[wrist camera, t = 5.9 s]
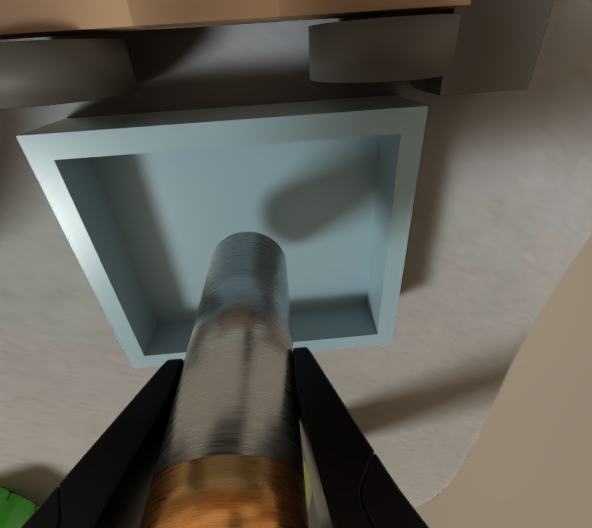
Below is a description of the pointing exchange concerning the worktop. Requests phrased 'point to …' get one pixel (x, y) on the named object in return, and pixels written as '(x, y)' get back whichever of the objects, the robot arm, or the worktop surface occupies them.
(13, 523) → the fruit basket
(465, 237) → the worktop surface
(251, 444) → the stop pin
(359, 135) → the tray
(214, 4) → the dolly
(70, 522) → the robot arm
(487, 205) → the worktop surface
